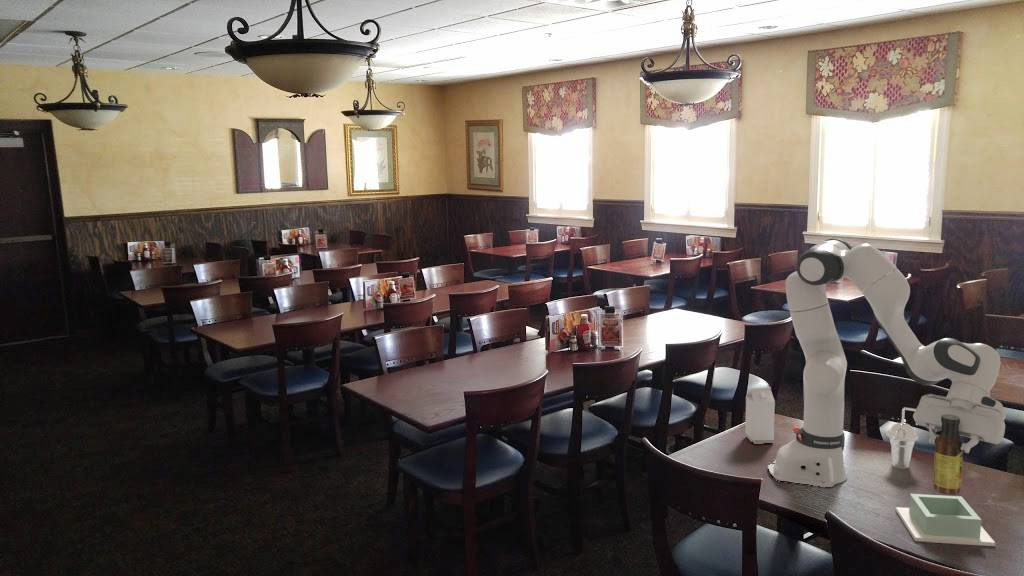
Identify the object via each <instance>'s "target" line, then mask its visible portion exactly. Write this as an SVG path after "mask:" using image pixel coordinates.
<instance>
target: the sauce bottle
mask: <svg viewBox="0 0 1024 576" xmlns="http://www.w3.org/2000/svg"><path fill="white" fill-rule="evenodd" d="M941 422H942V429H941V430H940V432H941V433H940V434H939V435H938V436H937V439H936V445H935V444H934V445H935V449H934V455H933V456H934V458H933V459H934V461H933V475H932V484H933V489H934V490H935V491H936V492H938V493H940V494H943V495H947V496H957V495H959V493H961V487H962V480H963V478H962V477H963V466H964V465H963V462H964V457H963V456H964V452H962V451H961V447H962V440H961V435H959V432H958V430H959V423H960V418H959V417H958V416H955V415H949V414H945V415H942V416H941Z"/></svg>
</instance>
